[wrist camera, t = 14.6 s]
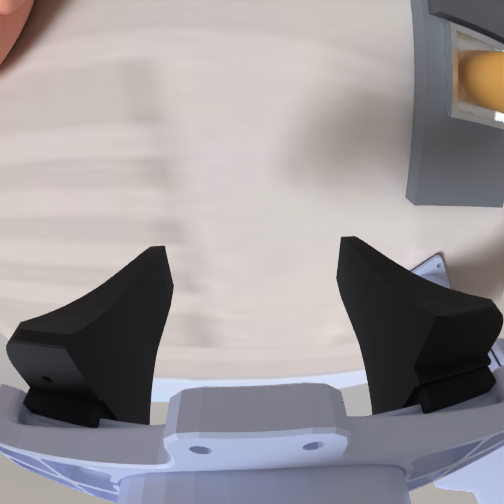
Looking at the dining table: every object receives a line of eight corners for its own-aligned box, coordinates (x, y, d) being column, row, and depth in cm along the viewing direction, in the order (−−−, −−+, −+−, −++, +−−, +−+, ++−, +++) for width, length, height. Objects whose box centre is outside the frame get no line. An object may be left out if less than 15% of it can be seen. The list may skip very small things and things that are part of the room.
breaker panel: (492, 200, 21) (512, 215, 18) (405, 197, 21) (424, 213, 18) (499, -5, 11) (522, -7, 8) (403, -46, 11) (423, -58, 8)
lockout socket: (504, 128, 16) (512, 132, 15) (443, 114, 16) (451, 117, 15) (506, 49, 13) (514, 50, 12) (442, 23, 13) (450, 22, 12)
